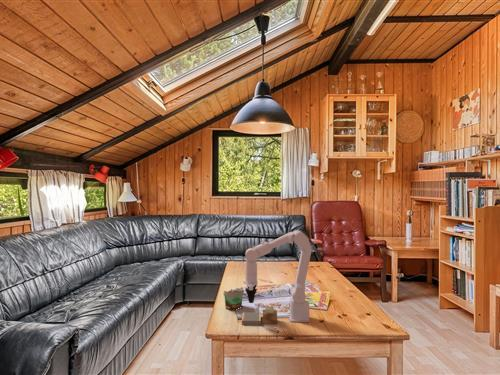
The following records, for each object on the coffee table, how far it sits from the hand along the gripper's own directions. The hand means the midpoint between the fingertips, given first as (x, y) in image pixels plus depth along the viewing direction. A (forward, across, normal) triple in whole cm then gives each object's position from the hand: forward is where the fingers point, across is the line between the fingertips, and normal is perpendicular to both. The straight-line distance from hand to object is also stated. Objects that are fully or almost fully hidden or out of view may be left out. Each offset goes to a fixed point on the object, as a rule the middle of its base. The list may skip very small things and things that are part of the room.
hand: (251, 299), depth 163 cm
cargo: (+5, +3, +9) cm, 11 cm away
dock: (+10, +2, 0) cm, 10 cm away
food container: (+10, -13, -9) cm, 19 cm away
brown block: (+10, +3, +9) cm, 14 cm away
